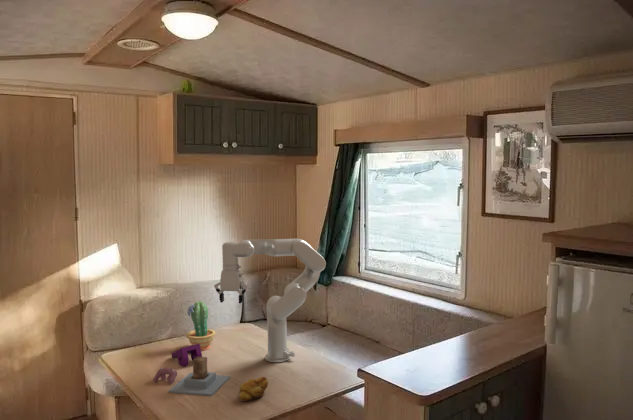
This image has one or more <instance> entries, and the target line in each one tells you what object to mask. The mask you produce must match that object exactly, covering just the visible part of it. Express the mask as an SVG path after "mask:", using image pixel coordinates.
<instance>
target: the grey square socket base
mask: <svg viewBox="0 0 633 420" xmlns="http://www.w3.org/2000/svg"><path fill="white" fill-rule="evenodd" d="M229 379H231V375H223V374H222V375H221V374H217V372H211V371H209V372H208V371H207V377H206V378H205V379H204V380H202V379H193V372H188V374H186V375H185V376H184V377H183V378H182V379H180V380H179V381H178V382H177V383H175V385H173V386H172V387H171V388H170V389H168V393H171V394H173V393H174V394H184V395H197V396H208V397H212V396H214V395H216V393H217V392H218V391H219V390H220V389H221V388H222V387H223V386H224V385H225V384H226V383H227V382H228V381H229ZM225 382H226V383H225ZM224 383H225V384H224ZM223 384H224V385H223ZM222 385H223V386H222ZM220 387H221V388H220Z"/></svg>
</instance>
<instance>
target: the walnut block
mask: <svg viewBox="0 0 633 420" xmlns="http://www.w3.org/2000/svg"><path fill="white" fill-rule="evenodd" d="M192 370H193V371H192V373H193V379H202V380H204V379H205V378H206V377H207V372H208V357H207V356H202V357H198V356H197V357H196V358H195V359H193V361H192Z"/></svg>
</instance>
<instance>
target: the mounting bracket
mask: <svg viewBox="0 0 633 420" xmlns="http://www.w3.org/2000/svg"><path fill="white" fill-rule="evenodd" d="M189 354H190V359H191V361H192V362H193V359H195V358H196V357H197V356H198V357H203V353H202V350H201V348H200V344H196V345H192V344H191V345H188V346H185V347H181V348H179V349H177V350H175V351H173V352H172V353H170V355H171V359H175V358H177V363H178V365H179V366H180V367H182V368H183V367H186V366H187V367H188V365H189V363H190V361H189V360H190V359H189Z"/></svg>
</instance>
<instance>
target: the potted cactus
mask: <svg viewBox="0 0 633 420" xmlns="http://www.w3.org/2000/svg"><path fill="white" fill-rule="evenodd" d="M187 315H188V316H189V317H190V319H191V320H192V323H193V327H194V330H191V331H188V332H186V338H187V339H188V341H189V343H190V344H191V346H192V345H196V344H200V348H201V351H207V350H209V349H210V348H211V344H212V342H213V339H214V337H215V335H216V331H215V330H214V329H208V317H209V307H208V306H207V304H206V303H205V302H204V301H200V300H199V301H195V302H194V303H193V304H191V305H189V307H188V309H187Z"/></svg>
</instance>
